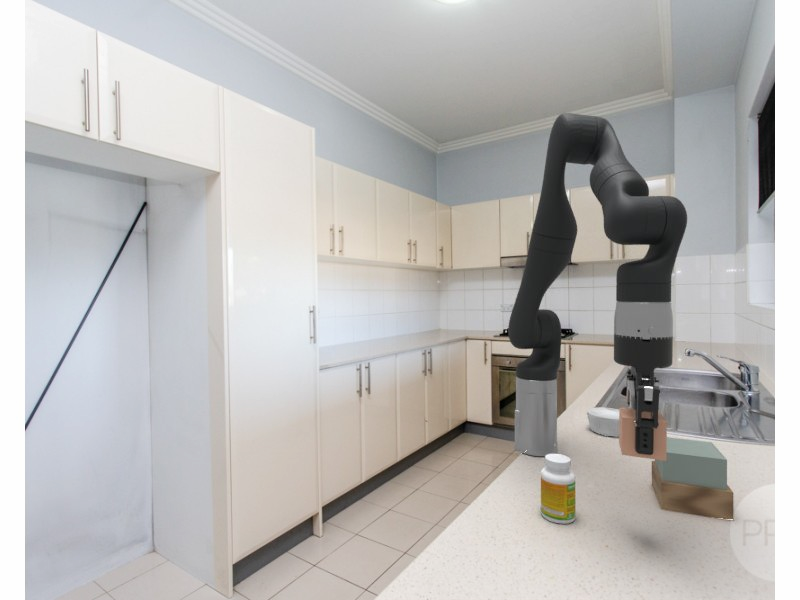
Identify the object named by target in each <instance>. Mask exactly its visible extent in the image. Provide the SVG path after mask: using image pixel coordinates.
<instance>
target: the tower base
mask: <svg viewBox="0 0 800 600" xmlns="http://www.w3.org/2000/svg"><path fill="white" fill-rule="evenodd" d="M651 487H652V489H653V492H654V494H655V497H656V498H657V499H656V500H657V502H658V504H659V506H660V509H661V510H664V511H668V512H669V511H670V512H675V513H682V514H687V515H694V516H699V517H700V516H701V517H705V518H711V517H714V519H717V518H723V519H733V520H734V491H733V490H732V489H731V487H730V486H729V485H728V484H727V490H721V489H714V488H708V487H701V486H694V485H687V484H680V483H674V482H667V481H663V480H662V478H661V476H660V473H659V471H658V469H657V466H656V464H655V460H651ZM723 519H722V520H723Z"/></svg>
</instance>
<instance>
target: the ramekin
mask: <svg viewBox="0 0 800 600" xmlns="http://www.w3.org/2000/svg"><path fill="white" fill-rule="evenodd" d="M586 414H587V419H588V423H589V425H588V426H589V429H590V430H591V431H592V432H593V431H594V432H596V433H598V434H597V435H599V434H602V435H601V436H603V435H606V436H605V437H608V436H615V437H614V438H619V409H618V408H611V407H601V406H599V407H592V408H588V409H586ZM594 432H593V433H594ZM596 433H595V434H596Z"/></svg>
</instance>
